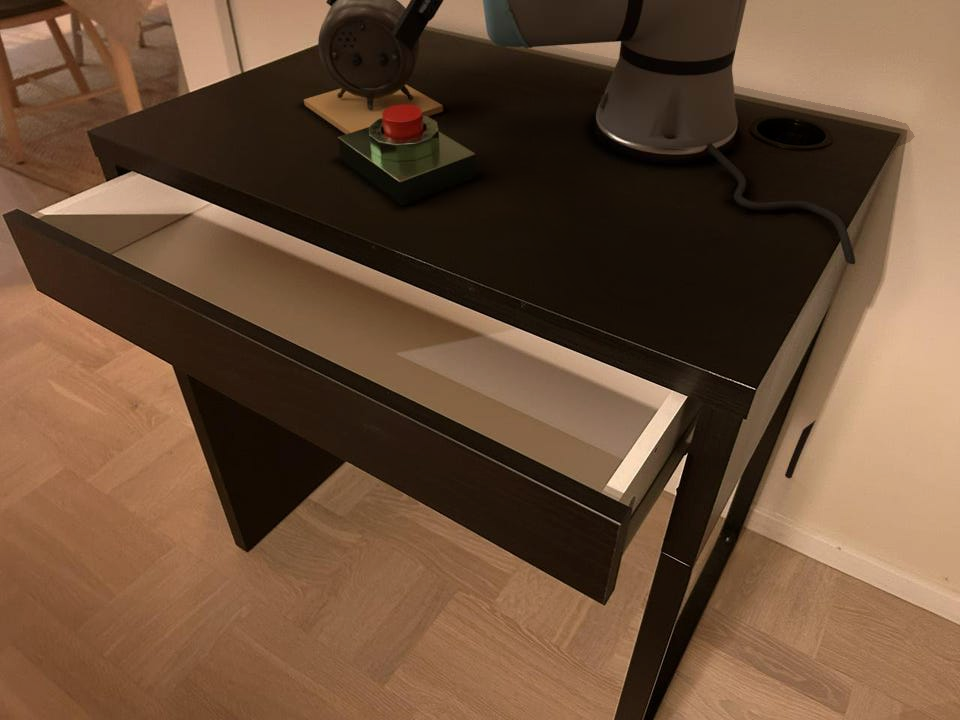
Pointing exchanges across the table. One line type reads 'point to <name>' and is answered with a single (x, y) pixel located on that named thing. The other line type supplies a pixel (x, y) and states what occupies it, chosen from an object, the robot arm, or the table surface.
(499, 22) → the robot arm
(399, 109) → the button
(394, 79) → the alarm clock
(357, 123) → the cork mat
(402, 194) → the control box
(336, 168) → the table surface
